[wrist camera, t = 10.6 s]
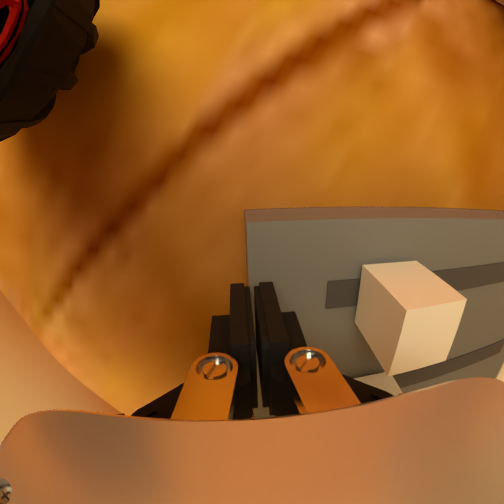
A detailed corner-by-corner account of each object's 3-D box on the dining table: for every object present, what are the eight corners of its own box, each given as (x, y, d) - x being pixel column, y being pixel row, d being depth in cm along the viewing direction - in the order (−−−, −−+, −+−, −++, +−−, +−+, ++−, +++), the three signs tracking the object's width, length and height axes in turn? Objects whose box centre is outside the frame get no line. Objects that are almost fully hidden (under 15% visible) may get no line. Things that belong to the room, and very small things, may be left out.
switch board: (244, 209, 14) (246, 225, 11) (543, 214, 15) (566, 223, 12) (255, 453, 21) (258, 480, 18) (480, 394, 22) (492, 410, 19)
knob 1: (343, 380, 15) (365, 434, 11) (389, 370, 15) (417, 418, 11) (335, 412, 16) (352, 462, 12) (378, 403, 16) (399, 448, 12)
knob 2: (362, 264, 12) (406, 310, 8) (416, 260, 12) (466, 298, 9) (354, 321, 13) (387, 376, 10) (405, 314, 13) (445, 360, 10)
